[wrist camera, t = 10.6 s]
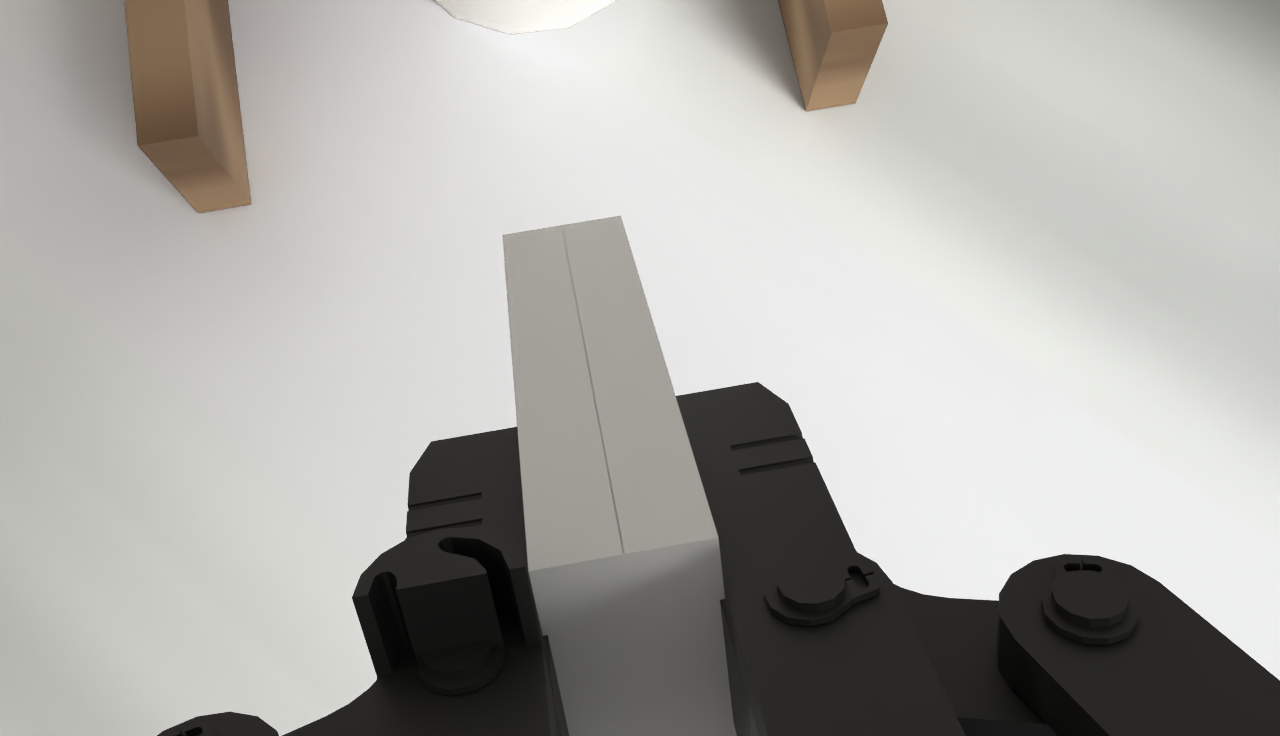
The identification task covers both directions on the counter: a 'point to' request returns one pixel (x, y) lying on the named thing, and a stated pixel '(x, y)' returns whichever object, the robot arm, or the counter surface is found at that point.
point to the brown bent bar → (210, 110)
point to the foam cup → (523, 13)
